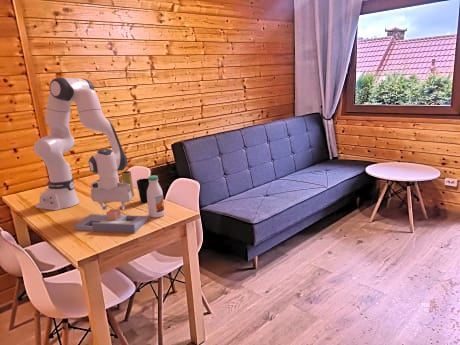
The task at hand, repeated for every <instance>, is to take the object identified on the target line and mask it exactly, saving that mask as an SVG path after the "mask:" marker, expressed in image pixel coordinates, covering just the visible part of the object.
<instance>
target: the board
mask: <svg viewBox="0 0 460 345" xmlns="http://www.w3.org/2000/svg"><path fill="white" fill-rule="evenodd" d="M148 221H149V215H129V214H128V215H127V214H125V215H124V214H123V215H122V214H121V217H119V218H118V219H117V220H107V214H95V213H94V214H93V213H91V214H89V215H87V216H86V217H84V218H83V219H81V220H80V221H78V222H77V223H75V224H74V225H73V229H74V231H91V232H97V233H98V232H99V233H100V232H101V233H121V234H122V233H123V234H136V233H137V232H138V231H139V230H140V229H141V228H142V226H144V225H145V224H146V223H147V222H148Z"/></svg>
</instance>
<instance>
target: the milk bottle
mask: <svg viewBox="0 0 460 345" xmlns="http://www.w3.org/2000/svg"><path fill="white" fill-rule="evenodd" d="M147 179H148V180H149V186H148V189H147V202H148V203H147V210H148V217H150V218H153V219H154V218H155V219H156V218H161V217H163V216H165V215H166V214H165V202H164V194H163V189H162V187H161V185H160V183H159V177H158V175H157V174H156V175H149V176H147Z"/></svg>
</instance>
